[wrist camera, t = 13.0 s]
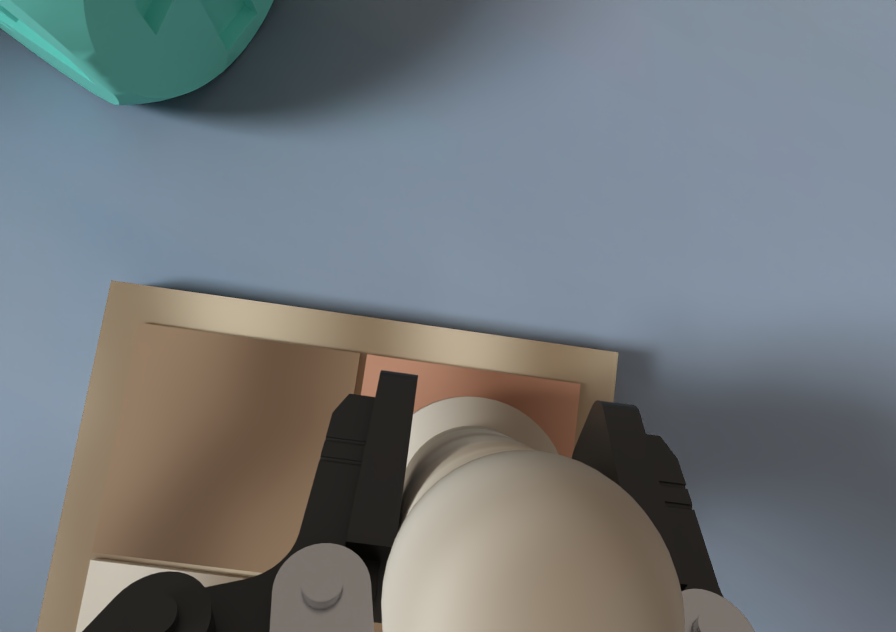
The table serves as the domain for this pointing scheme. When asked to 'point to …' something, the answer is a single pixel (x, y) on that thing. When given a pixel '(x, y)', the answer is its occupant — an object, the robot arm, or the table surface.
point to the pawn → (518, 535)
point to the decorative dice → (135, 41)
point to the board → (254, 428)
